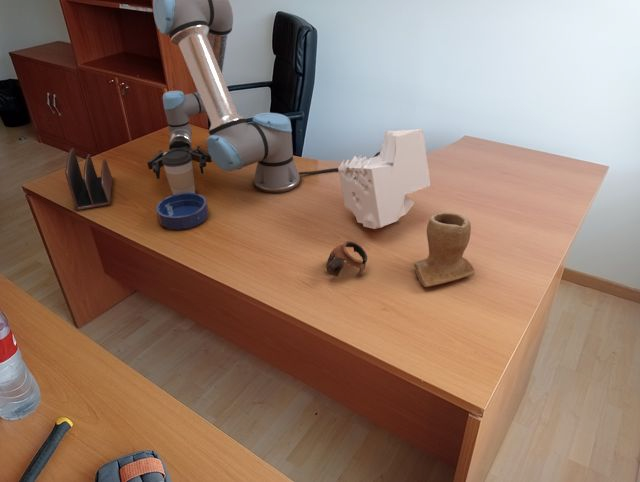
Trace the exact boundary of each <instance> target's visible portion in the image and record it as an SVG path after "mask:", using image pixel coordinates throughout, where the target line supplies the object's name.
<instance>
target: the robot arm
mask: <svg viewBox="0 0 640 482" xmlns="http://www.w3.org/2000/svg"><path fill="white" fill-rule="evenodd" d="M152 11H153V18H154V22H155V25H156V28H157V30H158V31H159V32H160V34H162V35H165V36H168V37H169V39H170V41H171V43H172V44H174V45H176V46H178V47H179V49H180V52H181V55H182V56H183V59H184V62H185V64H186V67H187V69H188V71H189V75H190V76H191V79H192V81H193V83H194V86H195V89H196V91H195V92H192V93H191V92H190V93H188V94H184V93H185V92H183V91H181V90H169V91H166V92H164V94H163V95H162V104H163V109H164V113H165V117H166V122H167V127H168V128H167V129H168V132H169V143H168V150H167V151H164V150H158V151H157V153H156V154H155V155H154V156H153V157H152V158H150V159H149V160H147V161H146V162H147V167H148V170H152V172H153V174H155V177H156V179H157V180H160V178H161V177H160V176H161V168H162V167H164V165H163V163H162V158H163V157H164V156H165V154H166V153H167V152H169V151H172V150H175V149H178V148H180V149H184V150H185V151H186V152H187V153H189V154H191V157H192V161H194V162H196V163H199V170H200V174H202V175H203V174H204V168H206V167H207V163H210V164H211V163H212V161H213V162H214V164H215V165H216V166H217V167H218V168H219V169H221V170H222V171H224V172H233V171H236V170H241V169H243V168H246V167H248V166H251V165H253V164H256V169H255V173H254V178H253V182H254V186H255V188H256V189H258V190H259V191H261V192H263V193H267V194H268V193H269V194H279V193H280V194H281V193H285V192H289V191H292V190H294V189H296V188H297V187H298V186H299V185H300V183H301V175H302V176H303V175H314V174H323V173H327V172H328V173H329V172H337V171H338V167H334V168H327V169H326V168H325V169H319V170H313V171H312V170H311V171H299V170H298V168H297V165H296V163H295V161H294V151H293V134H292V131H293V129H292V123H291V119H290V118H289V117H288V116H286V115H284V114H281V113H278V112H260V113H256V114H255V115H253V116H252V123H247V120H246V117H244V116H242V115H240V114H238V111H237V109H236V106H235V104H234V101H233V99H232V96H231V93H230V91H229V89H228V86H227V84H226V81H225V79H224V76H223V70H224V63H225V62H224V61H225V56H226V50H227V43H228V36H229V35H230V34H231V33H232V31H233V25H234V15H233V14H234V13H233V8H232V5H231V2H230V1H229V0H153V1H152ZM205 113H206V115H207V118H208V121H209V123H210V126H209V129H208V134H209V136H208V137H207V139H206V146H207V151H208V152H207V151H206V150H204V149H203V148H201V146H200V145H197V146H196V147H195V148H193V147H192V145H193V144H192V136H193V132H192V128H191V125H190V119H189V117H194V116H197V115H200V114H205ZM379 155H380V151H377V152H376V153H375V155H373V157H376V156H379ZM338 172H339V171H338Z"/></svg>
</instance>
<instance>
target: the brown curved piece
mask: <svg viewBox="0 0 640 482" xmlns="http://www.w3.org/2000/svg"><path fill="white" fill-rule="evenodd" d="M347 248H352V249H353V252H354V253H357V254H358V255H359V256H360V257H361V259H357V258H355V257H354V256H353V255H350V253H349V252H348V250H347ZM367 262H368V254H367V253H366V251H365V249H364V248H363V247H362V246H360V244H359V243H358V244H357V243H356V242H355V241H349V240H348V241H345V242H343V244H340V245H337V246H335V248H332V250H331V251H330V254H329V256H328V258H327V262H326V264H325V270H326V272H327V273H328V274H329V275H332V276H334V277H338V276H339V274H340V273H341V271H342V270H343V269H344V267H345V263H346V264H347V265H349V266H351V267H354V268H357V269H359V271H358V273H357V276H358V277H360V276H361V275H363V273H364V271H365V270H366V265H367Z"/></svg>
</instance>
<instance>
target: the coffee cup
mask: <svg viewBox="0 0 640 482" xmlns="http://www.w3.org/2000/svg"><path fill="white" fill-rule="evenodd" d="M166 152H167V151H166ZM162 163H163V165H164V166H163V167H164V172H165V175H166V178H167V181H168V185H169V187H170V189H171V193H172V195H175V194H180V193H196V188H195V174H194V165H193V160H192V157H191V154H189V153H187V152H186V151H185V150H184V149H180V148H178V149H175V150H172V151H169V152H167V153H166V154H165V156H164V157H163V158H162Z"/></svg>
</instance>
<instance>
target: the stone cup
mask: <svg viewBox="0 0 640 482" xmlns="http://www.w3.org/2000/svg"><path fill="white" fill-rule="evenodd" d="M471 231H472V225H471V221H470V219H469V218H467V217H466V216H464V215H461V214H459V213H456V212H439V213H435V214H433V215H431V216H430V218H429V219H428V222H427V226H426V238H427V245H428V256H427V258H425V259H422V260H418V261H414V262H413V267H414V269H415V273H416V276H417V279H418V281H419V283H420V284H421V286H423V287H424V288H428V287H432V286H437V285H441V284H446V283H451V282H453V281H457V280H461V279H464V278H467V277H469V276H471V275H473V274H475V268H474V266H473V265H472V263H471V262H470V261H469V260H468V259H466V258H465V257H463V255H464V253H465V251H466V249H467V247H468V245H469V242H470V239H471Z"/></svg>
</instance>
